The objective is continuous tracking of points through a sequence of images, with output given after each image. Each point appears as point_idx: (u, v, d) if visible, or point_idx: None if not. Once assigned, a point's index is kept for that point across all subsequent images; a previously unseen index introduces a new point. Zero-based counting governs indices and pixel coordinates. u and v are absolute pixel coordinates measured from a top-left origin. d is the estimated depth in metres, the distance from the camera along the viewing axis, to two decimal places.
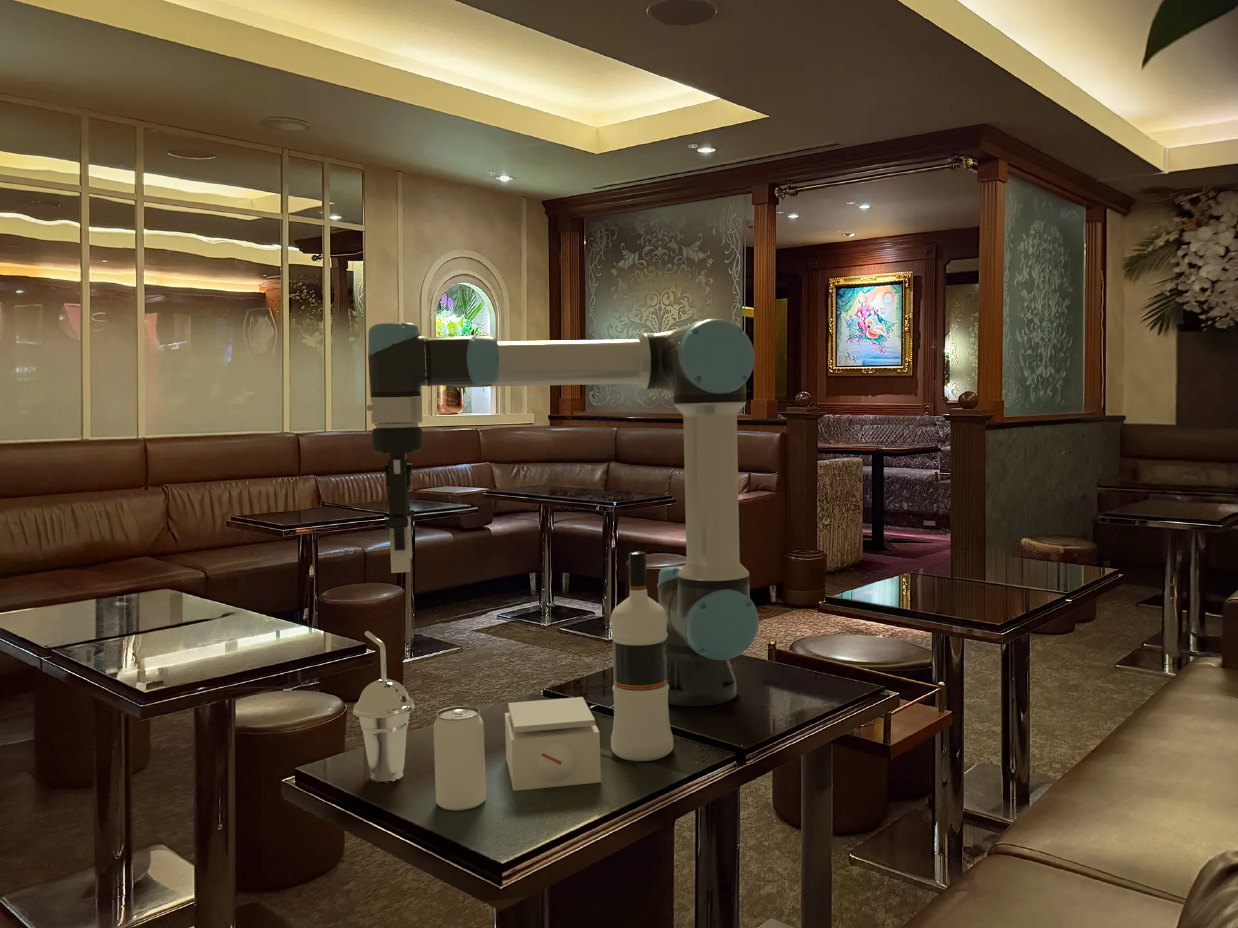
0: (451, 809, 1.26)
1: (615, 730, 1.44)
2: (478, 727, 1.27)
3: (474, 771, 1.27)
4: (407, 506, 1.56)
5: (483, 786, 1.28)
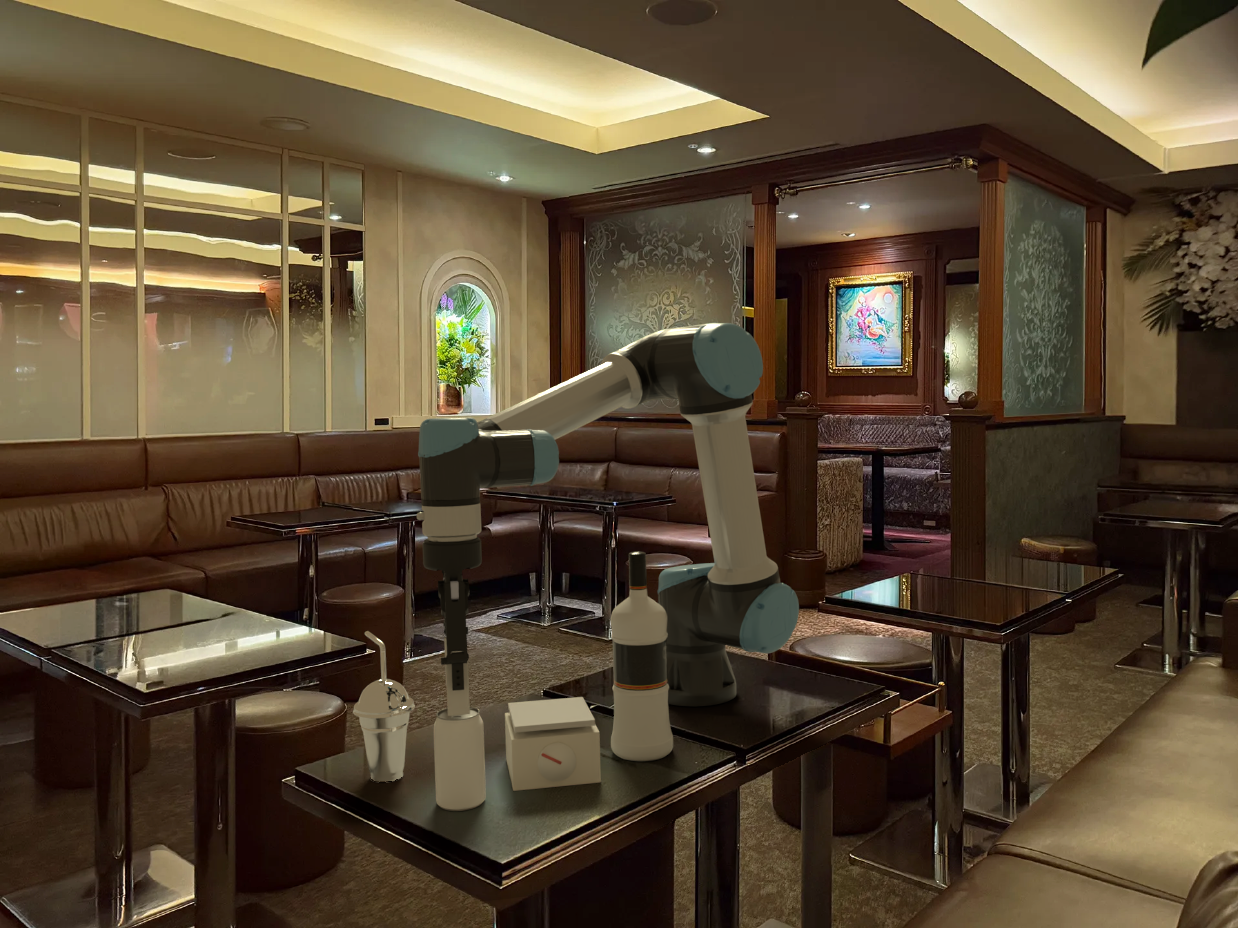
0: (451, 809, 1.26)
1: (615, 730, 1.44)
2: (478, 727, 1.27)
3: (474, 771, 1.27)
4: None
5: (483, 786, 1.28)
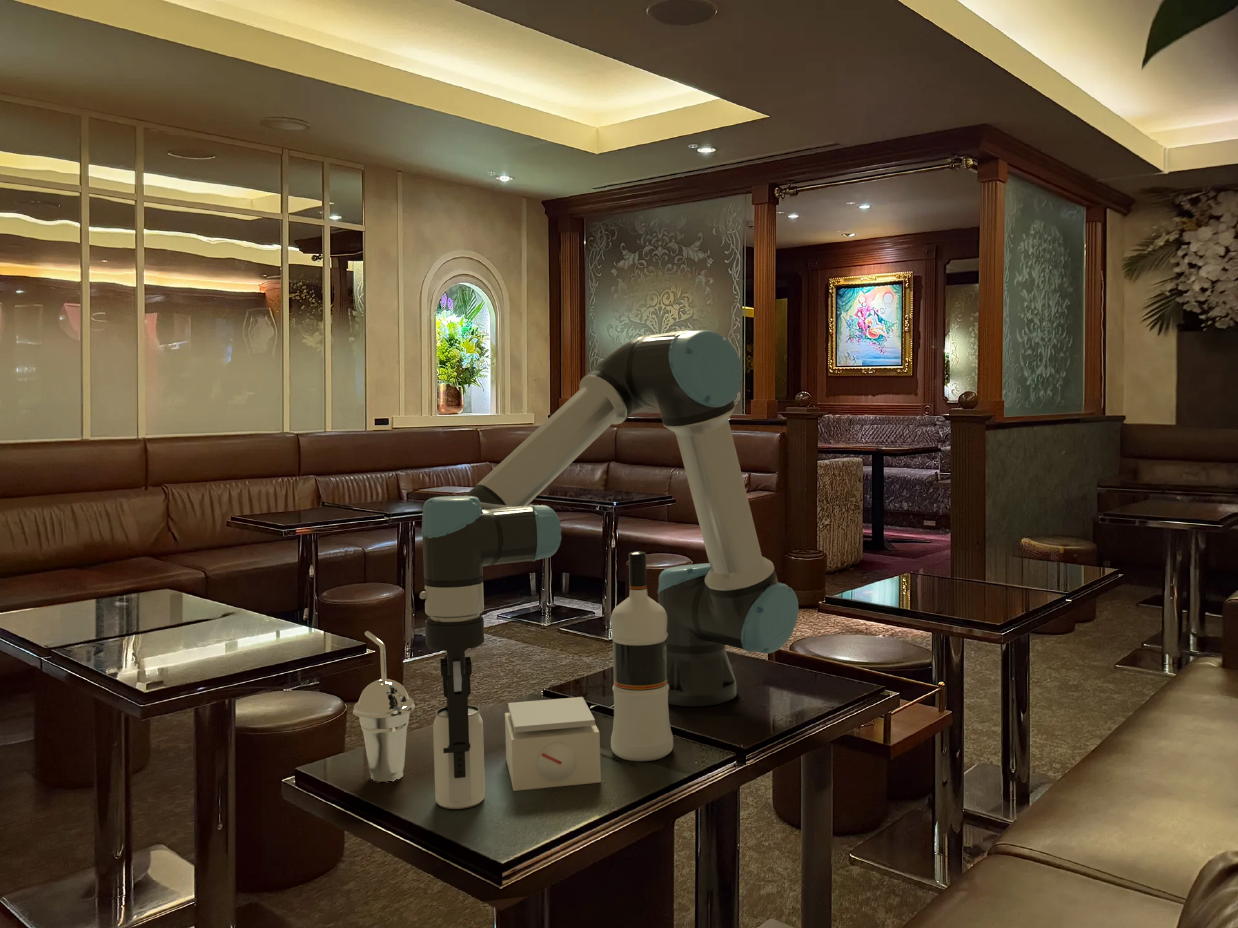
0: (450, 807, 1.27)
1: (615, 730, 1.44)
2: (477, 725, 1.27)
3: (473, 770, 1.27)
4: None
5: (482, 785, 1.28)
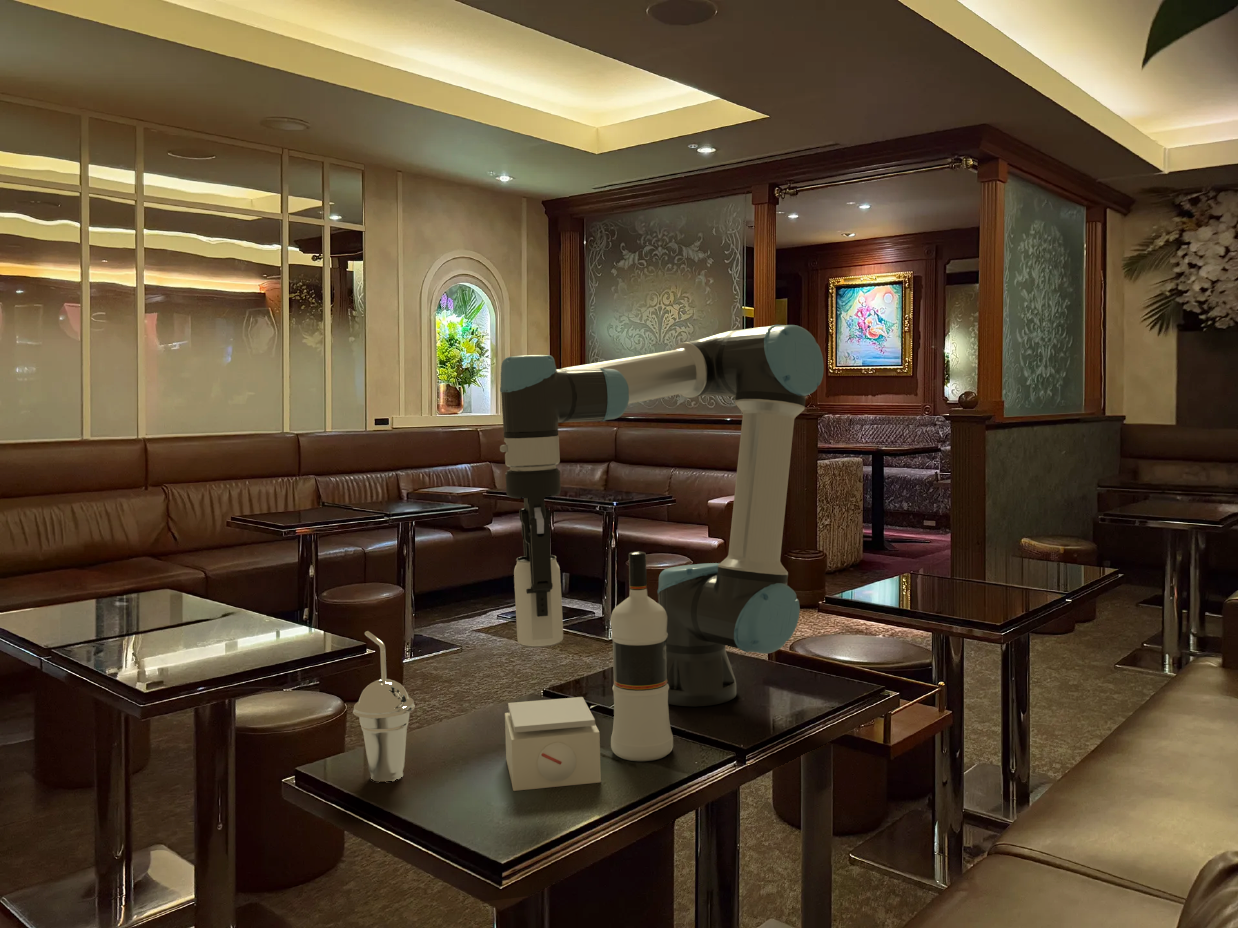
0: (532, 646, 1.35)
1: (615, 730, 1.44)
2: (555, 570, 1.36)
3: (553, 611, 1.36)
4: None
5: (561, 626, 1.37)
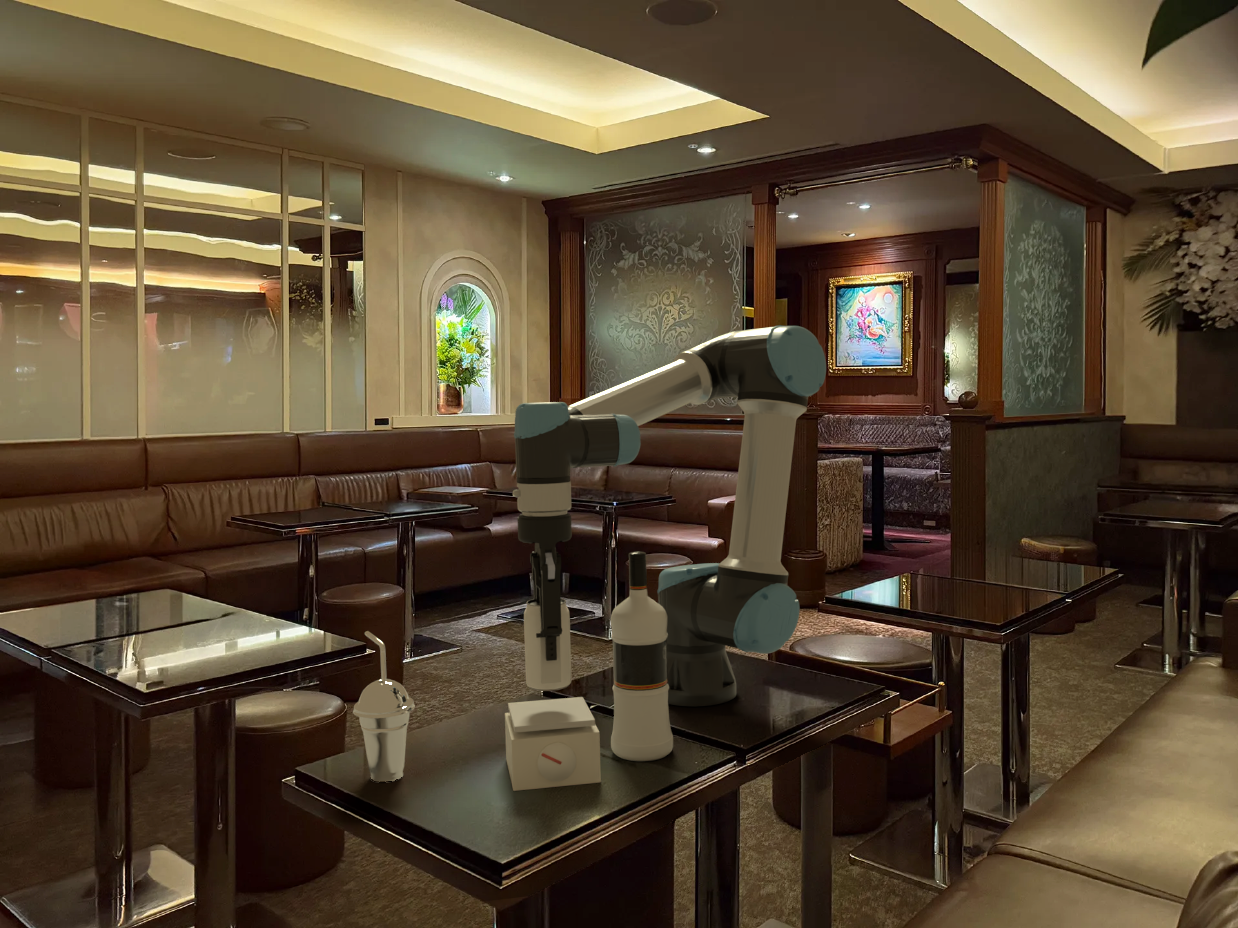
0: (541, 689, 1.37)
1: (615, 730, 1.44)
2: (565, 614, 1.38)
3: (562, 654, 1.37)
4: None
5: (569, 670, 1.39)
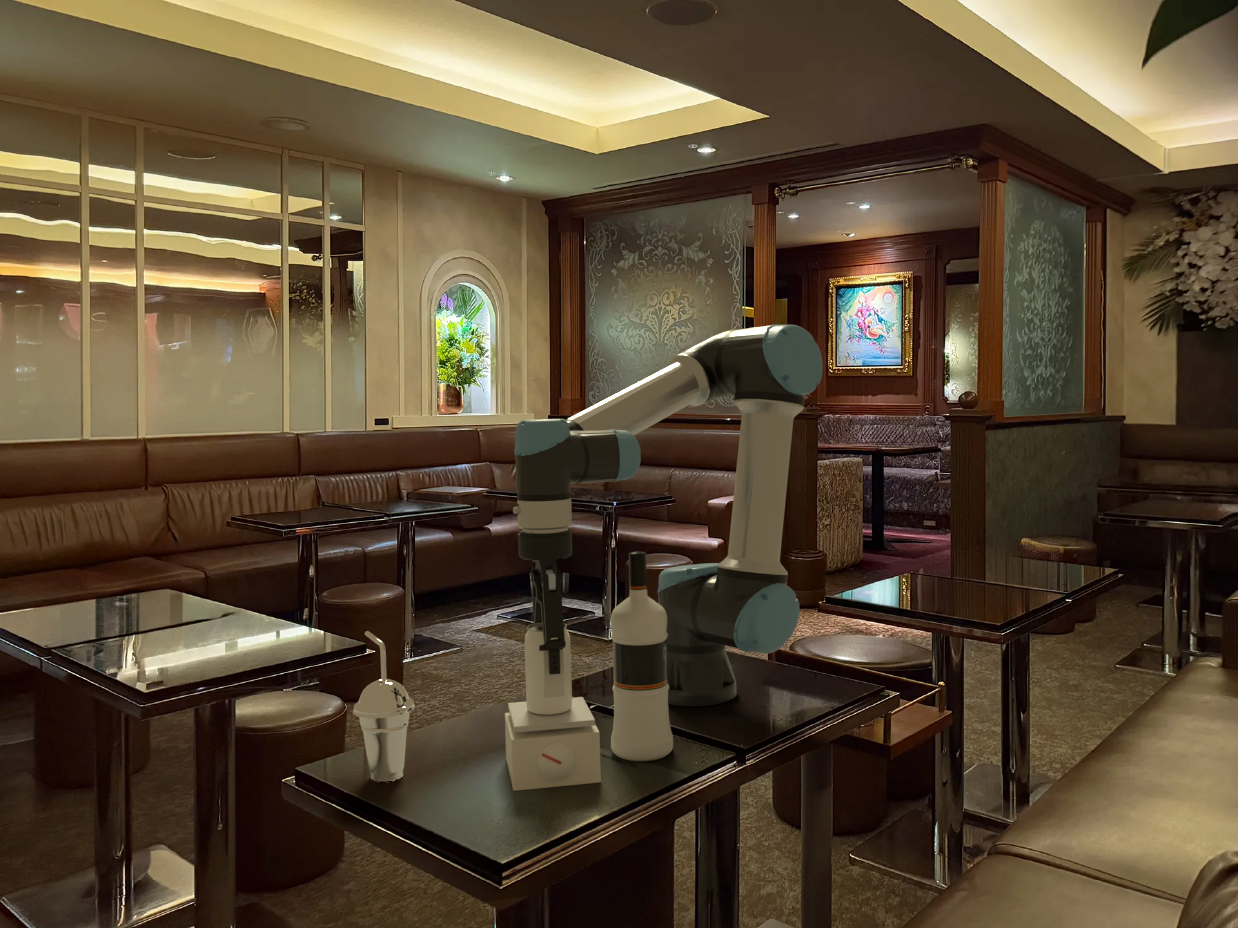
0: (542, 714, 1.37)
1: (615, 730, 1.44)
2: (566, 639, 1.38)
3: None
4: None
5: (570, 694, 1.39)
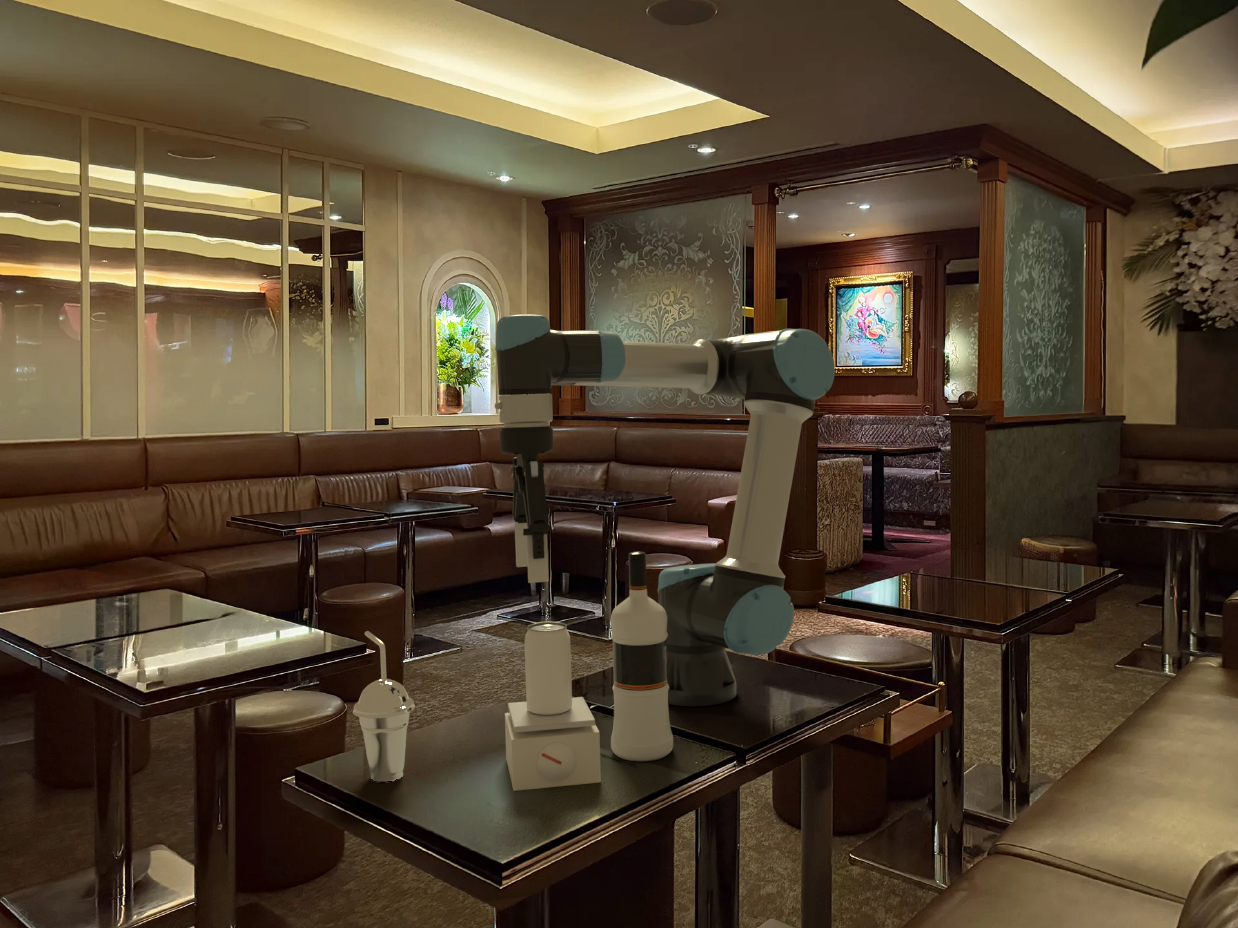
0: (542, 714, 1.37)
1: (615, 730, 1.44)
2: (566, 639, 1.38)
3: (563, 679, 1.37)
4: None
5: (570, 694, 1.39)
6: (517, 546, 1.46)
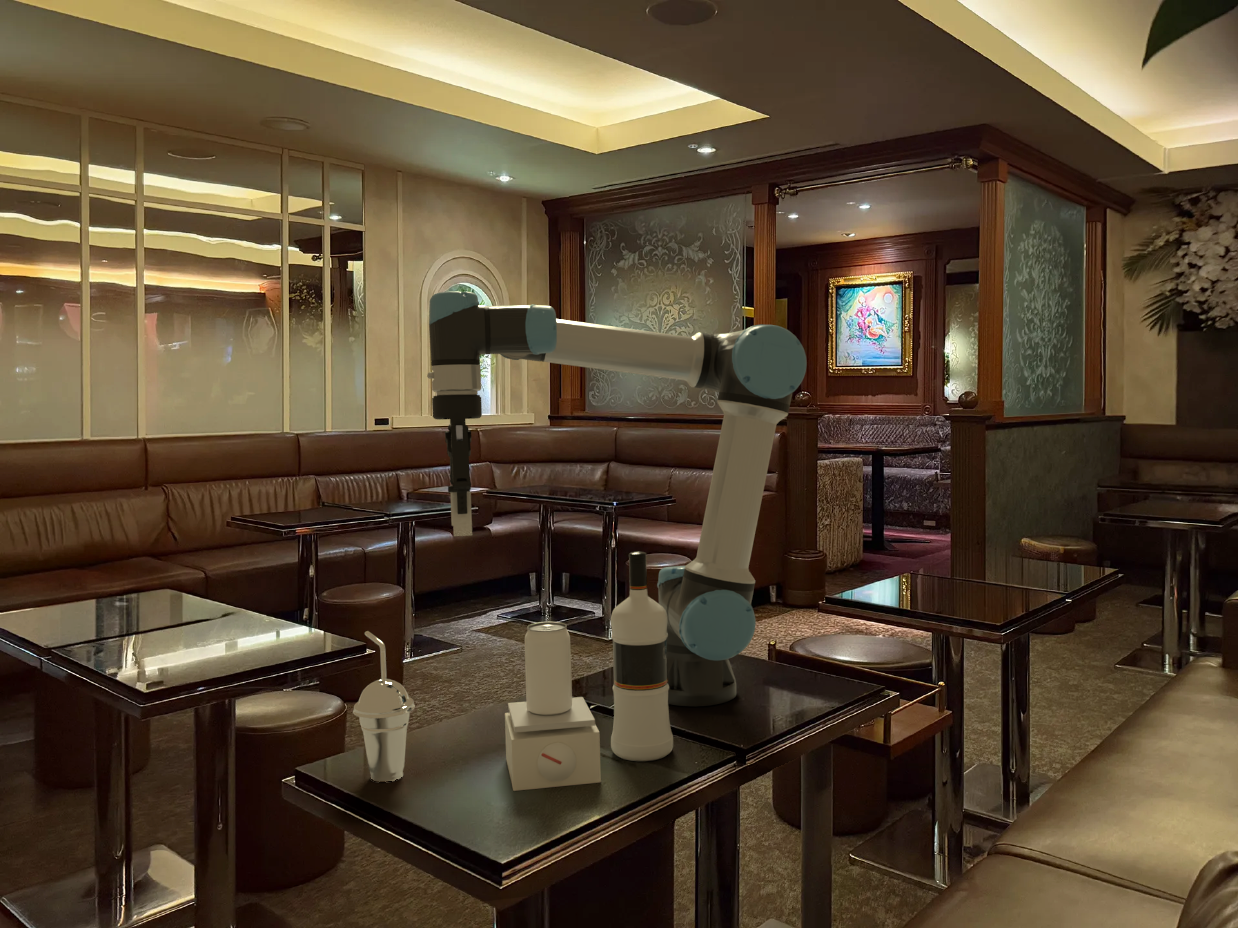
0: (542, 714, 1.37)
1: (615, 730, 1.44)
2: (566, 639, 1.38)
3: (563, 679, 1.37)
4: None
5: (570, 694, 1.39)
6: (452, 506, 1.59)
